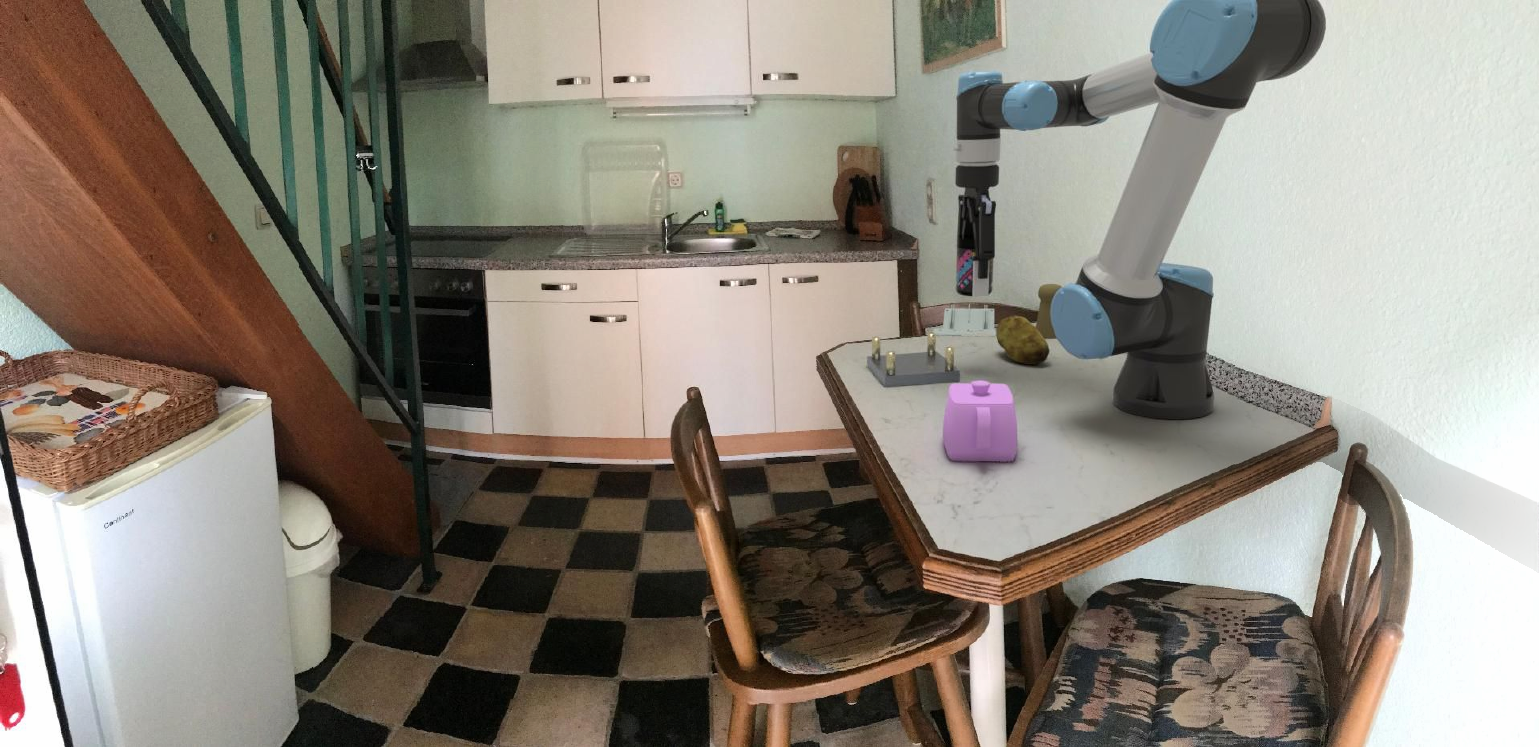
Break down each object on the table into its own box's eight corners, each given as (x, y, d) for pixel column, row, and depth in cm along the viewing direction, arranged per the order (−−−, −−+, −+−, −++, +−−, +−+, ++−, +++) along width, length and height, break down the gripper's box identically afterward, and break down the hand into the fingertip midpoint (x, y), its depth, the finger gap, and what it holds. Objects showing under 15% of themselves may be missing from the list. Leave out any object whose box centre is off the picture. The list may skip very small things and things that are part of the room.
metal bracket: (936, 299, 206) (1003, 300, 202) (936, 321, 209) (1002, 322, 206) (932, 331, 194) (1003, 332, 191) (932, 354, 197) (1003, 355, 194)
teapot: (940, 426, 141) (941, 364, 139) (1009, 427, 140) (1011, 364, 137) (944, 470, 124) (945, 400, 121) (1022, 472, 123) (1025, 401, 120)
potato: (1007, 369, 169) (1009, 328, 167) (991, 351, 182) (992, 313, 180) (1051, 367, 169) (1053, 326, 167) (1032, 349, 182) (1034, 311, 179)
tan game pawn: (1040, 339, 189) (1042, 288, 186) (1030, 332, 195) (1032, 282, 192) (1068, 337, 190) (1071, 286, 187) (1056, 331, 195) (1059, 281, 192)
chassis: (959, 381, 163) (960, 349, 162) (884, 387, 162) (884, 355, 160) (936, 361, 177) (936, 331, 175) (867, 366, 175) (866, 336, 174)
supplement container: (953, 289, 169) (954, 234, 166) (990, 289, 168) (992, 233, 165) (957, 297, 162) (958, 240, 159) (995, 296, 161) (997, 239, 158)
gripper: (940, 161, 167) (938, 282, 174) (974, 168, 149) (970, 304, 155) (979, 159, 168) (976, 280, 175) (1018, 166, 149) (1012, 301, 156)
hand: (973, 291), depth 165 cm, fingers closed on supplement container, 7 cm apart
